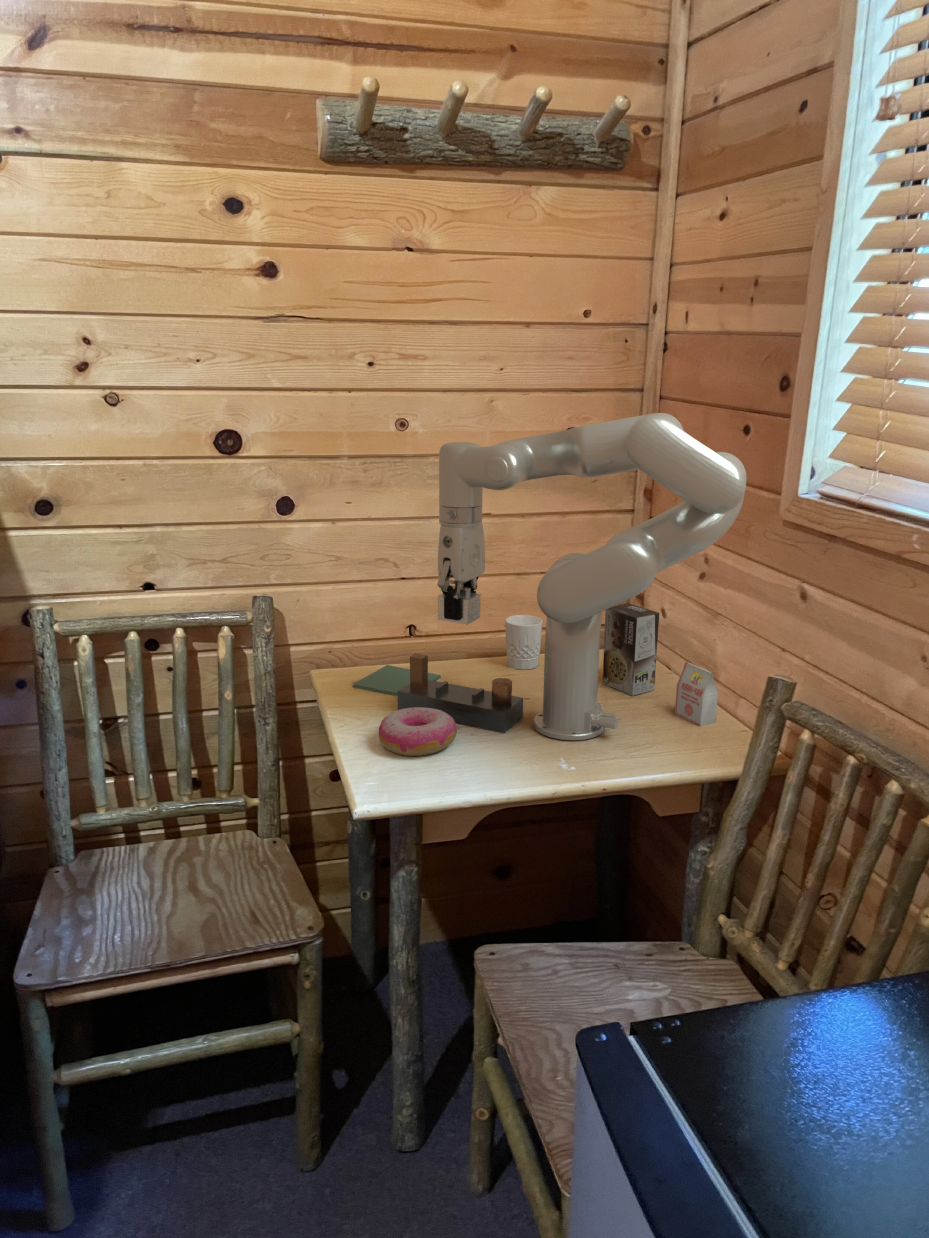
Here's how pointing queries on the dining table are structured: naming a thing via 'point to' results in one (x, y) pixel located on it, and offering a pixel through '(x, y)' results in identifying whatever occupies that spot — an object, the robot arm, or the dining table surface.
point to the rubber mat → (389, 680)
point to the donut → (417, 731)
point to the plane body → (462, 699)
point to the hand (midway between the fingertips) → (460, 614)
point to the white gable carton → (696, 695)
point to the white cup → (523, 641)
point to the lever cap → (463, 606)
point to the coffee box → (630, 648)
